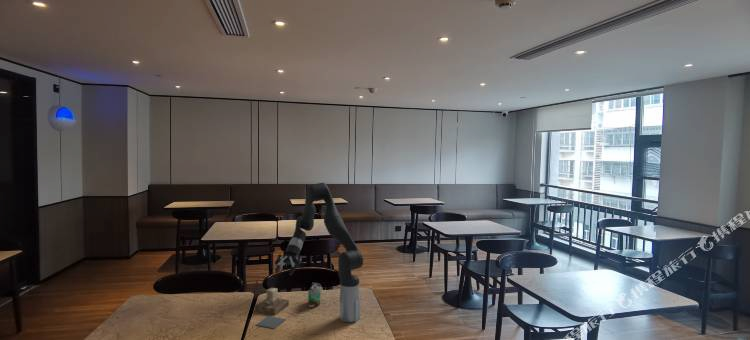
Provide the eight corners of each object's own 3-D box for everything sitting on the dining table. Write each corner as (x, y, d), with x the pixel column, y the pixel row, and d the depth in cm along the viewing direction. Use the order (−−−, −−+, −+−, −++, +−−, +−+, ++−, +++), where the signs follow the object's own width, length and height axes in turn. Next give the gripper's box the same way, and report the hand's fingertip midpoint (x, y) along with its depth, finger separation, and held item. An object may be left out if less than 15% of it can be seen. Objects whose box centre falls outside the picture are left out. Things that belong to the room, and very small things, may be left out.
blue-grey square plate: (286, 319, 183) (286, 319, 183) (274, 329, 174) (274, 328, 174) (268, 316, 187) (268, 315, 187) (255, 325, 177) (255, 324, 177)
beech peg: (277, 307, 198) (277, 288, 197) (273, 310, 194) (273, 291, 193) (271, 306, 199) (271, 287, 198) (266, 309, 195) (266, 290, 195)
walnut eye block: (288, 305, 200) (288, 299, 200) (275, 314, 189) (275, 308, 189) (269, 302, 204) (269, 296, 204) (255, 311, 193) (255, 305, 193)
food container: (319, 309, 195) (319, 290, 195) (308, 309, 195) (308, 290, 195) (323, 300, 208) (323, 282, 207) (312, 300, 208) (312, 282, 207)
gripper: (281, 242, 215) (269, 268, 205) (303, 245, 211) (292, 271, 200) (286, 249, 221) (274, 275, 210) (307, 252, 216) (297, 278, 206)
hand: (283, 273), depth 205 cm, fingers open, 8 cm apart
